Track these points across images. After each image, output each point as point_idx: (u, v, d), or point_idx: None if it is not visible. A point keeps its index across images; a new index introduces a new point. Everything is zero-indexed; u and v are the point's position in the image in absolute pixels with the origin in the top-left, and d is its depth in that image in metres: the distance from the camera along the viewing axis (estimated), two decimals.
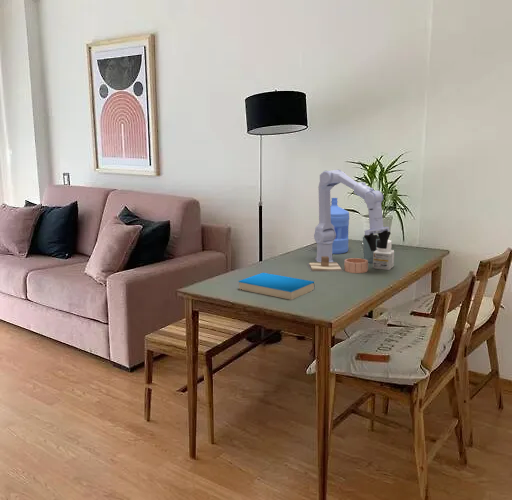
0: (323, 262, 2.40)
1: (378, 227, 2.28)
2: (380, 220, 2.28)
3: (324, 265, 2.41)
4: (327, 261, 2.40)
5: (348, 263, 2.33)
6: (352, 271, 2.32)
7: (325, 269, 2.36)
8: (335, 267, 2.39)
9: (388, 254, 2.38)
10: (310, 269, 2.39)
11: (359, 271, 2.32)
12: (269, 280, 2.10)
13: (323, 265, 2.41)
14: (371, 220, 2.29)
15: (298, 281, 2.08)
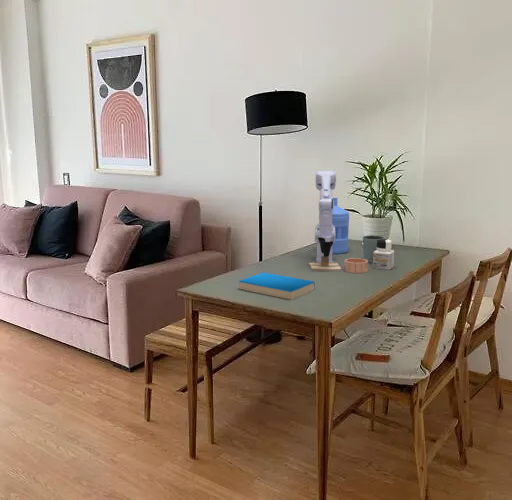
0: (323, 262, 2.40)
1: None
2: (319, 226, 2.39)
3: (324, 265, 2.41)
4: (327, 261, 2.40)
5: (348, 263, 2.33)
6: (352, 271, 2.32)
7: (325, 269, 2.36)
8: (335, 267, 2.39)
9: (388, 254, 2.38)
10: (310, 269, 2.39)
11: (359, 271, 2.32)
12: (269, 280, 2.10)
13: (323, 265, 2.41)
14: None
15: (298, 281, 2.08)
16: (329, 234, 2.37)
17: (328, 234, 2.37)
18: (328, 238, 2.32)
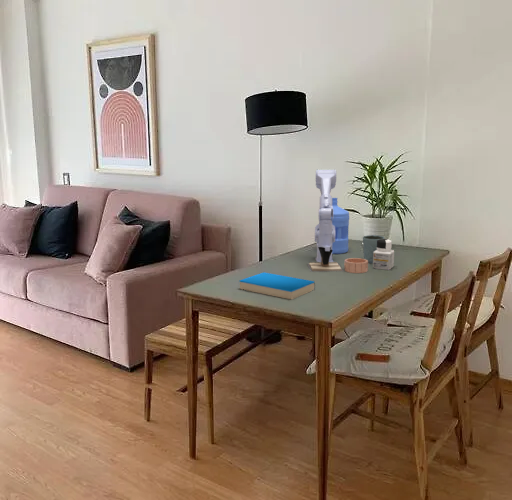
0: None
1: None
2: (319, 236, 2.40)
3: (324, 265, 2.41)
4: None
5: (348, 263, 2.33)
6: (352, 271, 2.32)
7: (325, 269, 2.36)
8: (335, 267, 2.39)
9: (388, 254, 2.38)
10: (310, 269, 2.39)
11: (359, 271, 2.32)
12: (270, 280, 2.10)
13: (323, 265, 2.41)
14: None
15: (299, 281, 2.08)
16: (329, 243, 2.38)
17: (328, 243, 2.37)
18: (328, 247, 2.33)
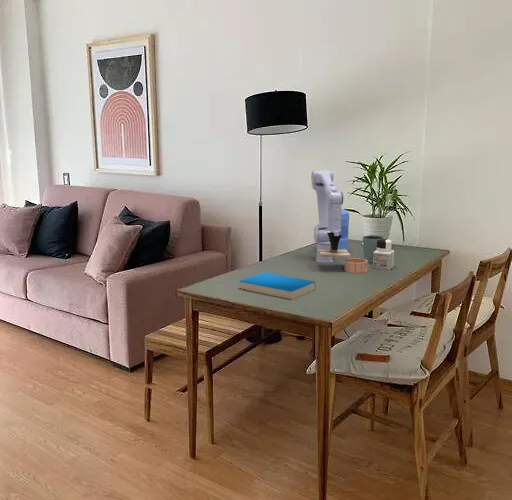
0: None
1: None
2: (328, 221, 2.37)
3: (333, 251, 2.38)
4: None
5: (348, 263, 2.33)
6: (352, 271, 2.32)
7: (334, 255, 2.33)
8: (344, 253, 2.35)
9: (388, 254, 2.38)
10: (310, 269, 2.39)
11: (359, 271, 2.32)
12: (270, 280, 2.11)
13: (332, 251, 2.38)
14: None
15: (299, 281, 2.09)
16: (338, 228, 2.35)
17: (337, 228, 2.34)
18: (337, 232, 2.30)
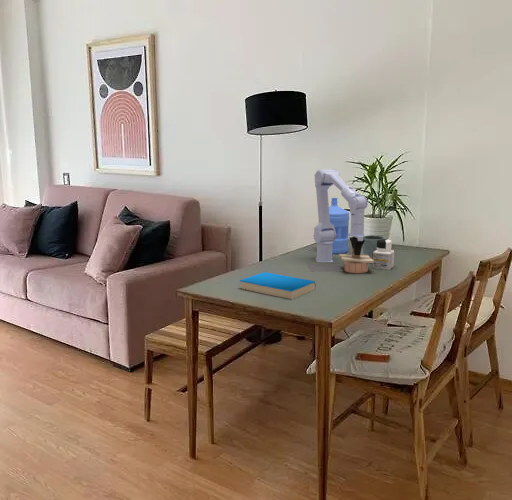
0: None
1: None
2: None
3: (355, 257, 2.34)
4: None
5: (348, 263, 2.33)
6: (352, 271, 2.32)
7: (357, 261, 2.29)
8: (367, 259, 2.32)
9: (388, 254, 2.38)
10: (310, 269, 2.39)
11: (359, 271, 2.32)
12: (270, 279, 2.11)
13: (354, 257, 2.34)
14: None
15: (299, 281, 2.09)
16: (361, 233, 2.31)
17: (360, 233, 2.31)
18: (361, 237, 2.26)
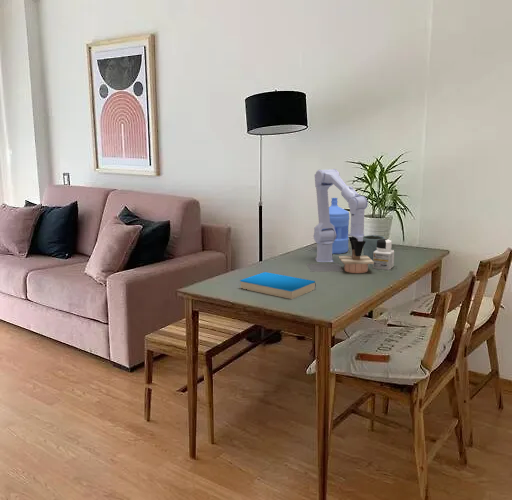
0: (354, 255, 2.34)
1: None
2: None
3: (355, 258, 2.34)
4: None
5: None
6: (352, 271, 2.32)
7: (357, 262, 2.29)
8: (367, 260, 2.32)
9: (388, 254, 2.38)
10: (310, 269, 2.39)
11: (359, 271, 2.32)
12: (270, 279, 2.11)
13: (354, 258, 2.34)
14: None
15: (299, 281, 2.09)
16: (361, 233, 2.31)
17: (360, 233, 2.31)
18: (361, 237, 2.26)
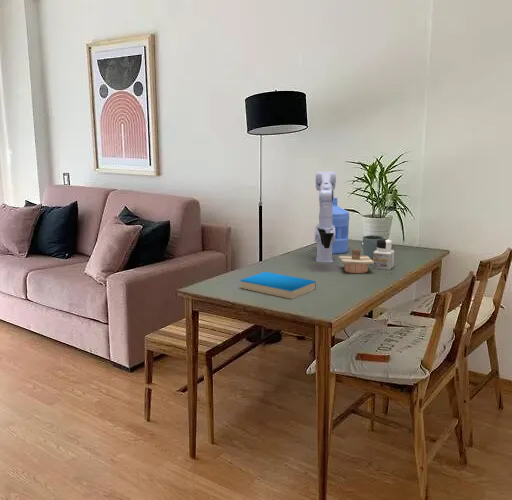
0: (354, 255, 2.34)
1: None
2: None
3: (355, 258, 2.34)
4: (358, 254, 2.34)
5: None
6: (352, 271, 2.32)
7: (357, 262, 2.29)
8: (367, 260, 2.32)
9: (388, 254, 2.38)
10: (310, 269, 2.39)
11: (359, 271, 2.32)
12: (271, 279, 2.11)
13: (354, 258, 2.34)
14: None
15: (299, 280, 2.09)
16: (329, 226, 2.36)
17: (328, 226, 2.36)
18: (328, 229, 2.31)
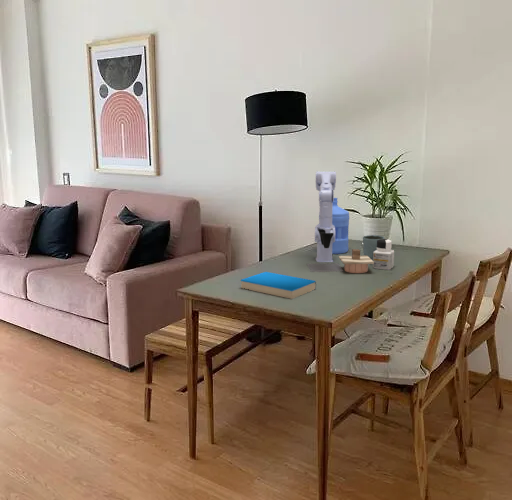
0: (354, 255, 2.34)
1: None
2: (319, 218, 2.38)
3: (355, 258, 2.34)
4: (358, 254, 2.34)
5: None
6: (352, 271, 2.32)
7: (357, 262, 2.29)
8: (367, 260, 2.32)
9: (388, 254, 2.38)
10: (310, 269, 2.39)
11: (359, 271, 2.32)
12: (271, 279, 2.11)
13: (354, 258, 2.34)
14: None
15: (300, 280, 2.09)
16: (329, 225, 2.36)
17: (328, 225, 2.36)
18: (328, 229, 2.31)
